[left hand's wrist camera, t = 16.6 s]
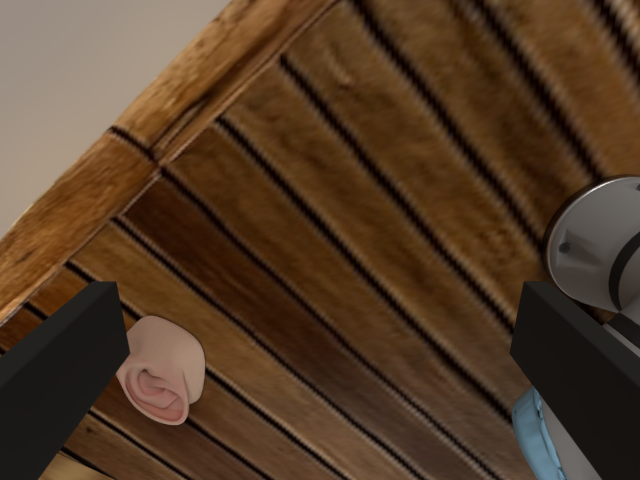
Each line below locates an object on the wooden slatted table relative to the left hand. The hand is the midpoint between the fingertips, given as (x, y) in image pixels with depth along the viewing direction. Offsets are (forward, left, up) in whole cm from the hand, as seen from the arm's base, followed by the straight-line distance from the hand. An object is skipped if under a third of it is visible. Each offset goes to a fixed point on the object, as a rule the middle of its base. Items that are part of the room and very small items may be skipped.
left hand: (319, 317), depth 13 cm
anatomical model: (-4, +33, -31) cm, 46 cm away
